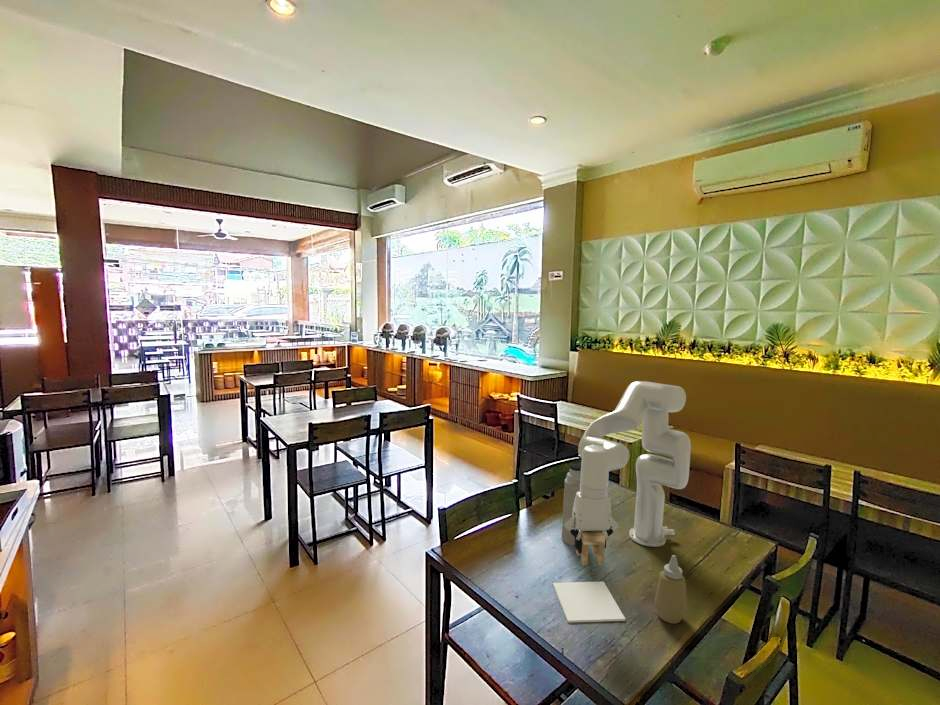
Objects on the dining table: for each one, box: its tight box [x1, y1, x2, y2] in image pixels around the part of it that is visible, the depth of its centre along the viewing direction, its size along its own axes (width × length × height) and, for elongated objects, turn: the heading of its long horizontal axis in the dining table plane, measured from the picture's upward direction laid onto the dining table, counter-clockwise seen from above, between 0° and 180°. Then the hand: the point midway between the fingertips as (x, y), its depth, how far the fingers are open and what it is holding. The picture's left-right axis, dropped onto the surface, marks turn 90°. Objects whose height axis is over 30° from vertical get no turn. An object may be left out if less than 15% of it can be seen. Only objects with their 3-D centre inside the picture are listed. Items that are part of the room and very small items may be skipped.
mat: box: [552, 581, 626, 624], centre depth 129 cm, size 16×16×1 cm
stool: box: [575, 531, 606, 566], centre depth 127 cm, size 6×6×8 cm
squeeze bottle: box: [653, 554, 687, 625], centre depth 123 cm, size 8×8×18 cm
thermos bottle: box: [561, 463, 581, 546], centre depth 160 cm, size 8×8×28 cm
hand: (589, 549), depth 127 cm, fingers closed on stool, 6 cm apart
